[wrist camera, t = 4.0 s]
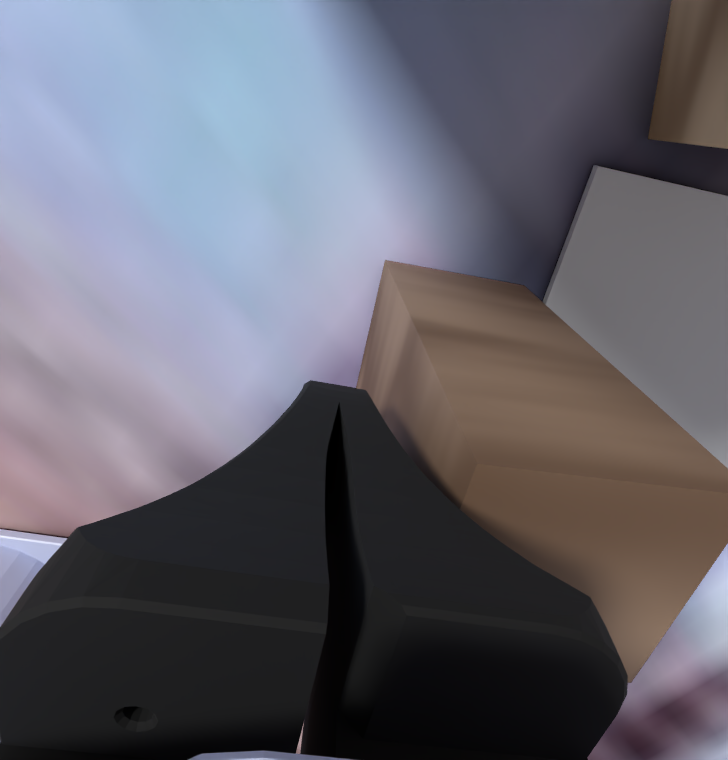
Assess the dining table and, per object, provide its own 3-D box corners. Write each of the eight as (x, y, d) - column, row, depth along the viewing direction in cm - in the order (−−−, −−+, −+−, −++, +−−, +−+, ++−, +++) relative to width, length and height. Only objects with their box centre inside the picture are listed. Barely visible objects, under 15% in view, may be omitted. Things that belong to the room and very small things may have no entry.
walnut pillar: (480, 407, 19) (630, 682, 10) (355, 389, 18) (399, 672, 9) (523, 285, 17) (759, 496, 8) (385, 260, 16) (477, 463, 7)
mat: (752, 537, 22) (757, 543, 21) (470, 493, 20) (471, 498, 20) (958, 249, 16) (968, 251, 16) (594, 165, 15) (598, 165, 15)
